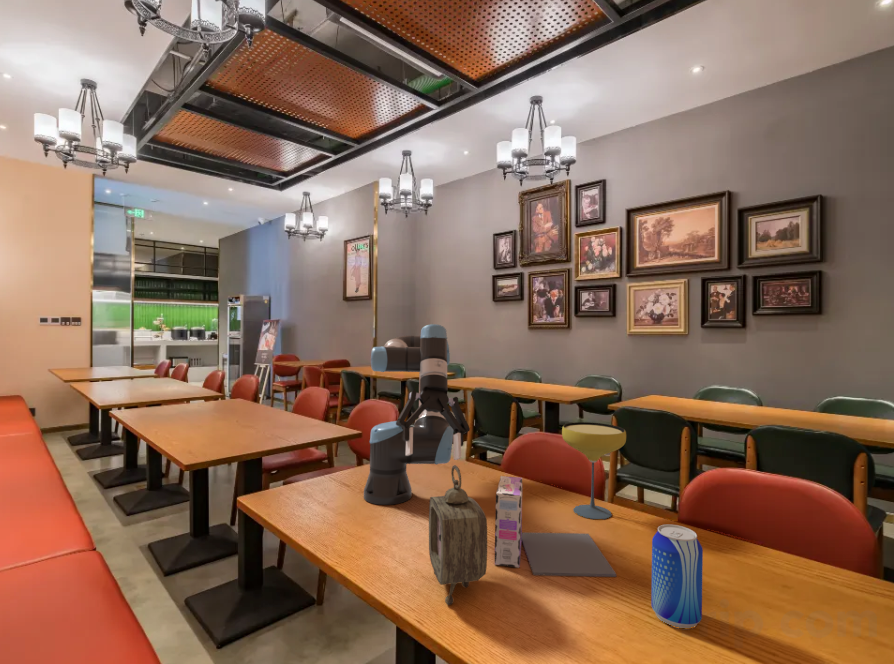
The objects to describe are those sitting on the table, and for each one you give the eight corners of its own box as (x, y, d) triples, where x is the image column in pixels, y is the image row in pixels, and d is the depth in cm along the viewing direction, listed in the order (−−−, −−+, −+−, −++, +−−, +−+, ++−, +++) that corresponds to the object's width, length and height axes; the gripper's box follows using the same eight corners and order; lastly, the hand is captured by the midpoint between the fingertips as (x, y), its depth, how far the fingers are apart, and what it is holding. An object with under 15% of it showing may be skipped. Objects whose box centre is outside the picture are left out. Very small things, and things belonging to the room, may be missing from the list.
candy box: (520, 568, 102) (521, 495, 102) (493, 565, 103) (494, 492, 103) (522, 541, 116) (523, 476, 116) (498, 539, 117) (499, 474, 117)
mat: (519, 534, 119) (519, 532, 119) (588, 535, 119) (588, 533, 119) (533, 575, 99) (533, 572, 99) (616, 576, 99) (616, 574, 99)
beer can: (642, 604, 89) (643, 522, 89) (683, 603, 90) (684, 521, 90) (667, 633, 81) (668, 542, 81) (712, 631, 81) (713, 541, 81)
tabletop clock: (428, 572, 100) (429, 457, 100) (467, 568, 102) (469, 456, 102) (442, 611, 86) (444, 478, 86) (488, 606, 88) (490, 476, 88)
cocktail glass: (634, 512, 136) (635, 428, 136) (609, 531, 122) (610, 437, 122) (578, 496, 148) (579, 419, 148) (549, 512, 135) (550, 427, 135)
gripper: (396, 366, 117) (392, 449, 108) (479, 380, 127) (483, 457, 118) (386, 375, 123) (382, 455, 114) (466, 388, 133) (469, 463, 124)
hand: (433, 457), depth 116 cm, fingers open, 13 cm apart
